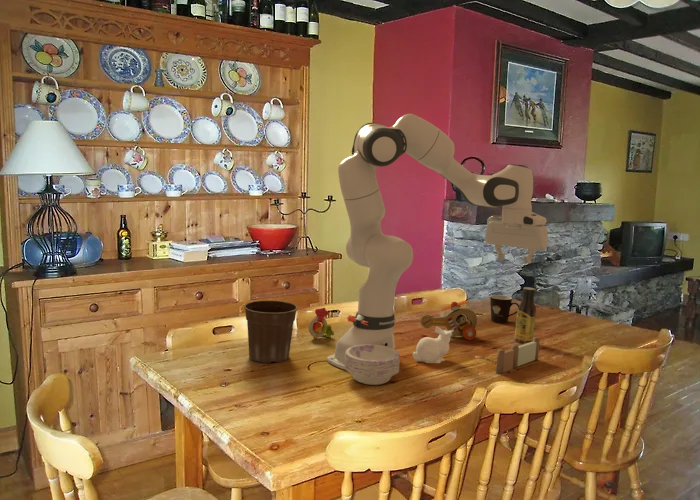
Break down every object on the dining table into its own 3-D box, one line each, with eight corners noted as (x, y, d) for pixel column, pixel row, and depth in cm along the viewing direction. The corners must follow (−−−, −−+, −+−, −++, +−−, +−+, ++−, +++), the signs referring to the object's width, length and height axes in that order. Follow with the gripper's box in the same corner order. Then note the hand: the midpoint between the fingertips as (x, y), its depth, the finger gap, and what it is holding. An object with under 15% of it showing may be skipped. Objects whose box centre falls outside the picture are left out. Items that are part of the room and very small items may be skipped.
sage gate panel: (518, 367, 172) (520, 344, 171) (512, 365, 173) (514, 343, 172) (539, 359, 180) (540, 338, 179) (533, 357, 182) (535, 336, 181)
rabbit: (444, 356, 181) (446, 320, 180) (456, 366, 172) (459, 328, 171) (408, 358, 178) (410, 321, 177) (419, 368, 169) (421, 329, 168)
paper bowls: (366, 364, 169) (367, 339, 168) (409, 379, 160) (410, 352, 158) (332, 378, 157) (334, 351, 156) (376, 394, 148) (378, 366, 147)
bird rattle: (320, 347, 193) (340, 333, 198) (310, 319, 189) (330, 306, 194) (310, 342, 198) (329, 329, 202) (300, 315, 194) (320, 302, 198)
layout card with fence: (508, 379, 163) (510, 354, 162) (457, 362, 176) (459, 339, 175) (548, 363, 178) (550, 341, 177) (498, 349, 191) (500, 328, 190)
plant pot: (303, 352, 180) (305, 303, 177) (284, 369, 164) (286, 314, 162) (256, 346, 184) (257, 298, 182) (233, 361, 168) (234, 309, 166)
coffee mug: (484, 319, 232) (485, 295, 230) (500, 318, 235) (502, 294, 234) (502, 326, 221) (504, 301, 220) (520, 325, 225) (522, 300, 224)
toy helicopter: (479, 340, 201) (481, 302, 199) (422, 340, 198) (424, 302, 197) (471, 334, 209) (473, 297, 207) (416, 333, 206) (418, 297, 205)
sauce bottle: (510, 341, 202) (514, 286, 199) (524, 339, 204) (529, 285, 202) (522, 346, 196) (526, 290, 193) (536, 345, 198) (541, 289, 196)
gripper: (482, 215, 182) (480, 257, 184) (541, 220, 167) (538, 266, 169) (493, 214, 186) (491, 255, 188) (551, 219, 171) (548, 264, 174)
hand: (514, 261), depth 179 cm, fingers open, 8 cm apart
